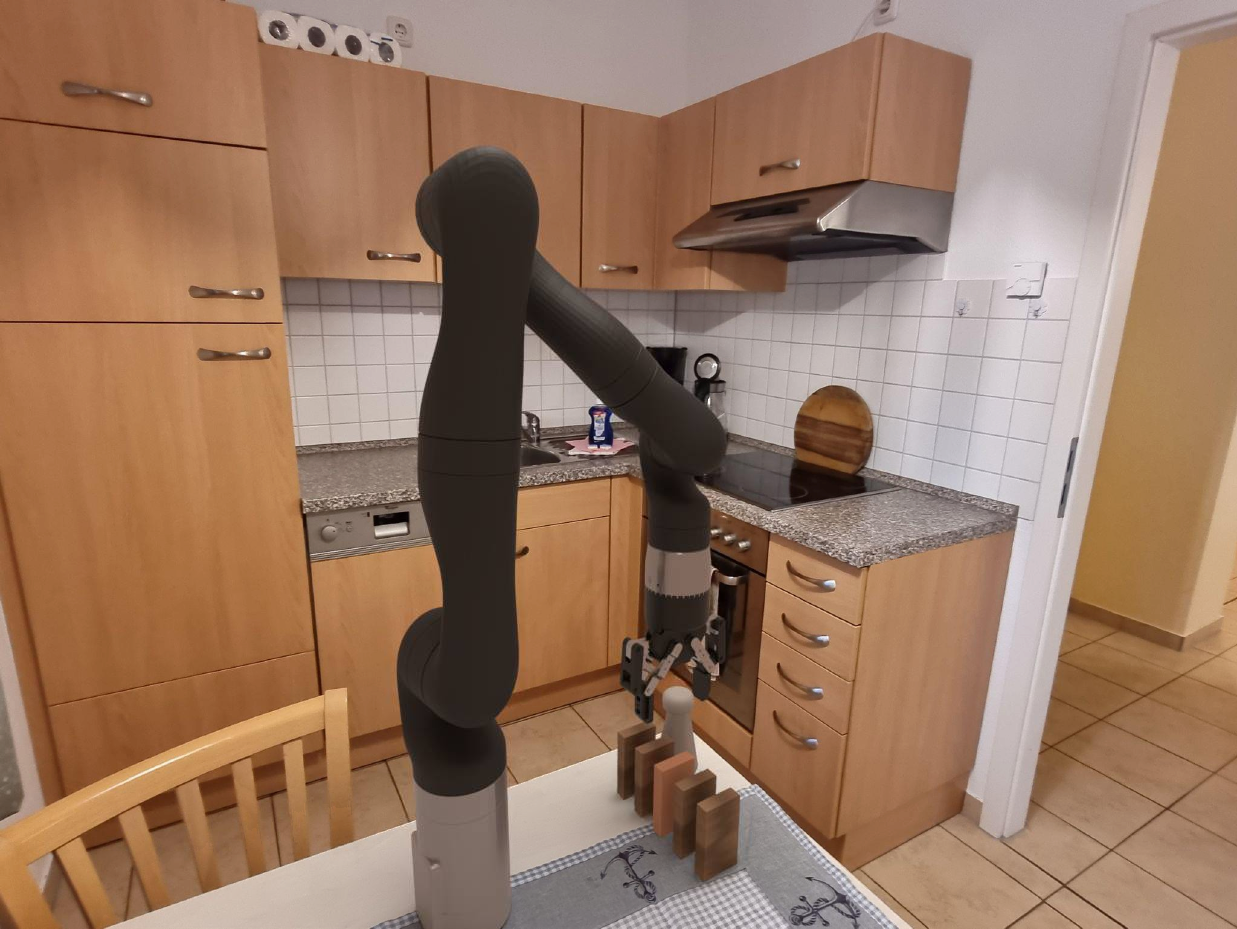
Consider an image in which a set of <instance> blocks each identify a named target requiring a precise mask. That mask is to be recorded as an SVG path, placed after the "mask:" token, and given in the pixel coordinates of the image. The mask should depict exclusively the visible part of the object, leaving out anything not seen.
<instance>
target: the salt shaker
mask: <svg viewBox="0 0 1237 929" xmlns="http://www.w3.org/2000/svg"><path fill="white" fill-rule="evenodd" d="M695 704H696V702H695V697H694V695H693V694H692V690H691V689H689V688H687V687H685V686H680V685H676V686H675V685H674V686H671V687H668V688H666V689H665V690H664V691H663V693H662V707H663V709H664V710H665V711H666V713H665V718H664V723H663V726H662V730H661V734H660V738H661V737H663V736H666V735H668V736H669V737H670V738H671V739H672V740H674V741H675V745H674V756H676V755H678V754H680V753H683V752H685V751H687V752H689V753H690V754H691V755H692V756H693V757H695V766H694V775H695V774H696V772H697V770H698V766H699V764H698V763H699V762H698V756H697V751H696V750H697V749H696V743H695V737H694V730H693V723H692V722H693V721H692V717H691V716H692V715H691V713H692V711H693V710H694V708H695Z"/></svg>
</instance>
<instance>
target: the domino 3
mask: <svg viewBox="0 0 1237 929" xmlns="http://www.w3.org/2000/svg"><path fill="white" fill-rule="evenodd" d="M694 766H695V757H693V756H692V755H691V754H690V753H689V752H687V751H685V752H683V753H680V754H678V755H676V756H673V757H671V758H669V759H667V760H664V761H662V762H660V763H657V764H655V765H654V799H653V813H652V831H654V833H656V835H657V836H658V837H659V838H663V837H666V836H667V835H670V834H671V833H673V827H674V790H675V783H677V782H679V781H681V780H684V779H686V778H688V777H690V776H692V775H695V774H694ZM662 836H663V837H662Z"/></svg>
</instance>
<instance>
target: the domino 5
mask: <svg viewBox="0 0 1237 929" xmlns="http://www.w3.org/2000/svg"><path fill="white" fill-rule="evenodd" d="M740 808H741V795H740V794H739V793H738V792H737V791H736V790H735V789H733V788H732V787H731V786H730V787H728V788H726V789H724V790H722V791H720V792H718V793H716V795H714V796H711V797H709V798H707V799H705V800H703V801H701V802H699V803H697V815H696V845H695V852H694V853H695V854H694V874H695V875H696V876H697V877H698V878H699V879H700V880H701V881H702V882H703V883H705V882H707V881H709V880H710V879H712V878H714V877H715V876H717V875H719V874H721V873H723V872H724V871H726V870H727V869H731V867H733V866H734V865H737V864H738V852H739V850H738V846H739V829H740V828H739V826H740V811H741V810H740Z"/></svg>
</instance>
